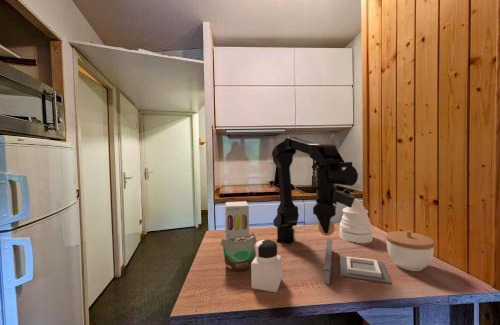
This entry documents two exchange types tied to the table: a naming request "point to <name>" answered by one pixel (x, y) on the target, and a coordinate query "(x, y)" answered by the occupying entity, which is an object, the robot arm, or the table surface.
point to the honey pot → (356, 224)
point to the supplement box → (236, 219)
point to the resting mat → (363, 269)
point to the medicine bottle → (266, 267)
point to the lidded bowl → (410, 249)
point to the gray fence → (328, 261)
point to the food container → (239, 252)
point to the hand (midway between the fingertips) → (326, 230)
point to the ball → (330, 231)
